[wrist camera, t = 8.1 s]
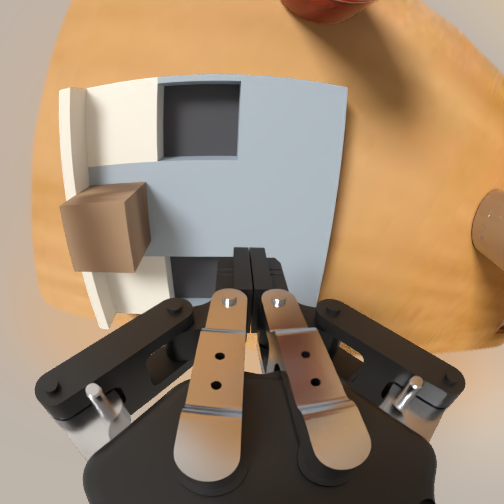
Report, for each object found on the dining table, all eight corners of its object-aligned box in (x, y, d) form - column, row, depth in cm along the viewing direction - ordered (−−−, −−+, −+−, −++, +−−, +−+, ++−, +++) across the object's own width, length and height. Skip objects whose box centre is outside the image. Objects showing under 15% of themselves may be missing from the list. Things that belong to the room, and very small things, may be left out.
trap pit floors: (239, 84, 19) (239, 84, 19) (233, 296, 28) (233, 298, 28) (164, 86, 19) (164, 86, 18) (175, 295, 28) (175, 297, 28)
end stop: (85, 88, 16) (70, 87, 13) (116, 312, 25) (109, 329, 23) (75, 91, 16) (59, 90, 13) (107, 312, 25) (100, 328, 23)
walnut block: (145, 181, 20) (124, 201, 15) (151, 240, 22) (134, 273, 18) (90, 185, 19) (59, 206, 15) (98, 241, 22) (74, 271, 17)
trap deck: (336, 89, 20) (347, 87, 17) (308, 298, 29) (314, 313, 27) (89, 92, 18) (75, 91, 16) (114, 297, 27) (107, 312, 25)
